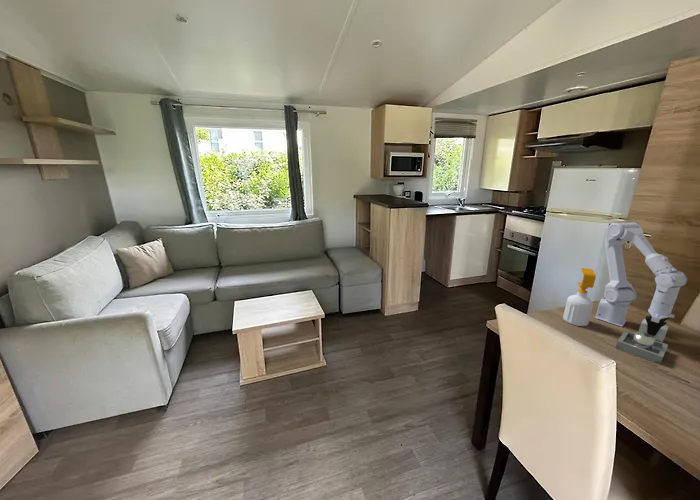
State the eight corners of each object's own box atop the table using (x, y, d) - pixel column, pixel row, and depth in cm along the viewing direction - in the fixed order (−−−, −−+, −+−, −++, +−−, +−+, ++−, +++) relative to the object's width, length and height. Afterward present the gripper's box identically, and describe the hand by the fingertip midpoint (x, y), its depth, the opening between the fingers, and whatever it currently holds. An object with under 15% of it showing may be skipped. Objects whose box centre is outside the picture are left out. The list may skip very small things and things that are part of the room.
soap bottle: (583, 317, 132) (596, 267, 124) (591, 328, 123) (606, 274, 116) (559, 314, 134) (571, 265, 127) (566, 324, 126) (579, 272, 119)
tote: (615, 347, 110) (617, 341, 109) (623, 336, 117) (625, 330, 116) (660, 364, 101) (662, 357, 100) (665, 351, 108) (668, 344, 107)
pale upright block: (637, 333, 116) (641, 322, 115) (640, 329, 119) (644, 318, 118) (662, 341, 111) (666, 330, 109) (664, 337, 114) (668, 326, 112)
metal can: (629, 346, 109) (633, 335, 108) (632, 341, 112) (636, 330, 111) (649, 353, 105) (653, 341, 104) (652, 348, 108) (656, 336, 107)
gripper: (675, 311, 103) (663, 343, 107) (681, 300, 112) (669, 330, 116) (648, 303, 109) (637, 335, 113) (655, 293, 117) (645, 323, 121)
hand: (652, 332), depth 114 cm, fingers closed on pale upright block, 5 cm apart
